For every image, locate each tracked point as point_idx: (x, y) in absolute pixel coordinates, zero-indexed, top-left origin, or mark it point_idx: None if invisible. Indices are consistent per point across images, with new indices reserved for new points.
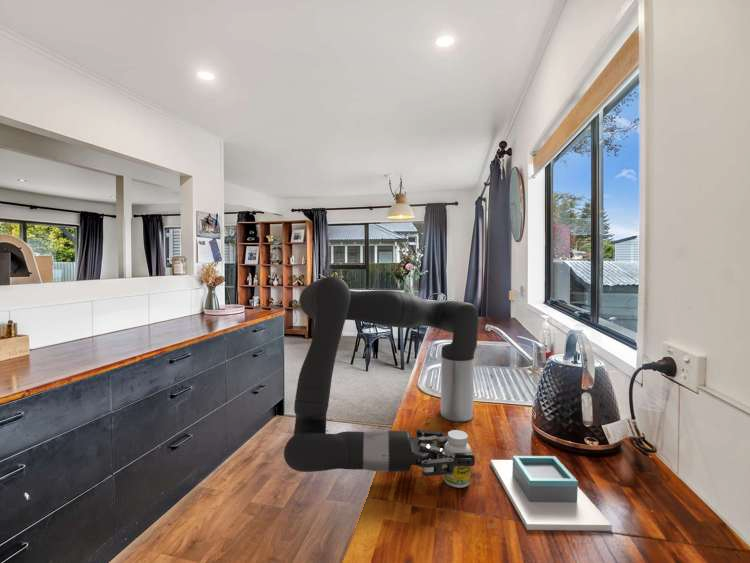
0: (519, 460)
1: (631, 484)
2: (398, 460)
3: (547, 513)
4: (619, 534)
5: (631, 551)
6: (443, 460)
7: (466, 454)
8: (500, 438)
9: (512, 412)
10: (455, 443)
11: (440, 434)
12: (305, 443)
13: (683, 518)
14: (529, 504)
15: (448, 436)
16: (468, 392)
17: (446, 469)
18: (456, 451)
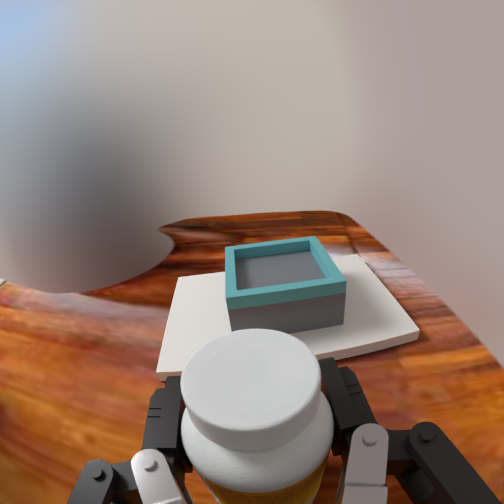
0: (250, 289)
1: (238, 236)
2: None
3: (369, 304)
4: None
5: (387, 256)
6: (452, 462)
7: (338, 380)
8: (61, 335)
9: (6, 298)
10: (319, 402)
11: (110, 481)
12: None
13: (301, 223)
14: (352, 325)
15: (273, 429)
16: None
17: (415, 475)
18: (327, 420)
